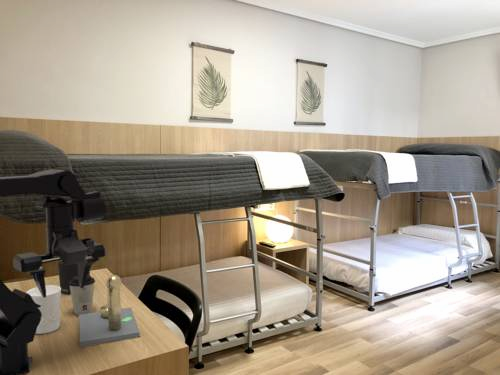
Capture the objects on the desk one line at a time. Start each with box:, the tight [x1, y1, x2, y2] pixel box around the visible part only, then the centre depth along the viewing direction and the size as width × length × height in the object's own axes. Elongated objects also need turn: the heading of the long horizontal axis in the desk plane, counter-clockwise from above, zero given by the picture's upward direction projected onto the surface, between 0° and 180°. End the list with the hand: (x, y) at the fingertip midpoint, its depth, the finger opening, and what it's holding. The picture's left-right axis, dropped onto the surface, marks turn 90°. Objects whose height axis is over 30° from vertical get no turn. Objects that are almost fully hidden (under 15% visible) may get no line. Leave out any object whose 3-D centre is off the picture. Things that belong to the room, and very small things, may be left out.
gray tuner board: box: [78, 307, 141, 348], centre depth 108 cm, size 17×14×1 cm
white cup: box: [26, 284, 62, 335], centre depth 107 cm, size 8×8×10 cm
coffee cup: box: [68, 274, 96, 316], centre depth 118 cm, size 7×7×10 cm
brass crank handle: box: [100, 274, 122, 330], centre depth 108 cm, size 13×4×13 cm, turn 26°
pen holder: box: [57, 260, 91, 295], centre depth 136 cm, size 9×9×10 cm
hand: (63, 292), depth 96 cm, fingers open, 8 cm apart
